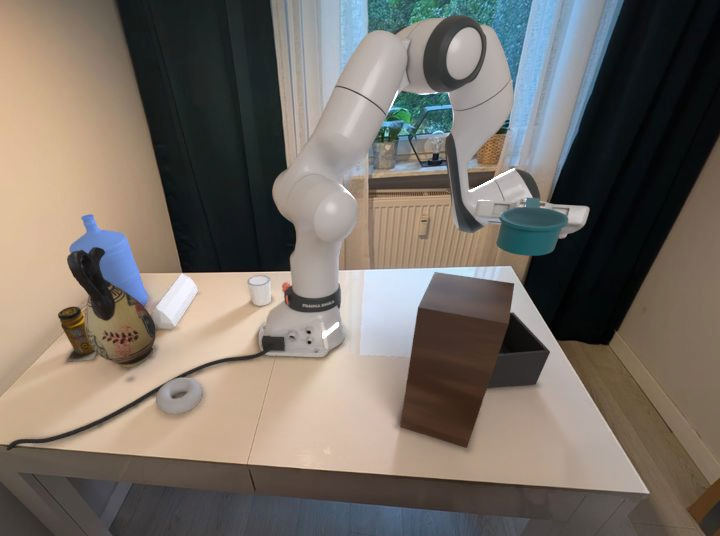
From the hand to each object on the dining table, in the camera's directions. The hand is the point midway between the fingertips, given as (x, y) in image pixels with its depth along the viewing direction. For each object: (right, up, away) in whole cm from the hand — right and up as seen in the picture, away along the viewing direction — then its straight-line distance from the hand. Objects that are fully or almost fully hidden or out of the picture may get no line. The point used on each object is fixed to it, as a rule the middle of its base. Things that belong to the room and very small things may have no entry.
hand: (531, 206), depth 73 cm
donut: (-70, -39, +11) cm, 81 cm away
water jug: (-99, -14, +47) cm, 110 cm away
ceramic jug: (-87, -30, +24) cm, 95 cm away
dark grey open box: (-3, -31, +11) cm, 33 cm away
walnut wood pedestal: (-17, -40, +1) cm, 44 cm away
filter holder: (-3, -6, -2) cm, 7 cm away
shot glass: (-55, -13, +42) cm, 70 cm away
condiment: (-101, -28, +29) cm, 109 cm away
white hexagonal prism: (-81, -16, +41) cm, 92 cm away
